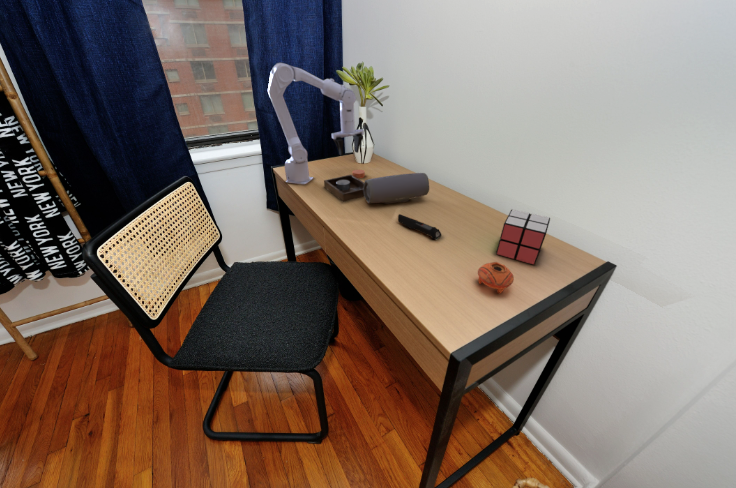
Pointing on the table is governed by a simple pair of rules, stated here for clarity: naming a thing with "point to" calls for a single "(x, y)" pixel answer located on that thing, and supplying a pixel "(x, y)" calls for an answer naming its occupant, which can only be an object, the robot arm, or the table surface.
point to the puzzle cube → (523, 236)
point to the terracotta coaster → (358, 173)
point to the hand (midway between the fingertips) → (348, 153)
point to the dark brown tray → (349, 194)
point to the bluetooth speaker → (396, 188)
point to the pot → (495, 276)
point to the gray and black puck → (343, 184)
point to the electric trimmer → (420, 226)
